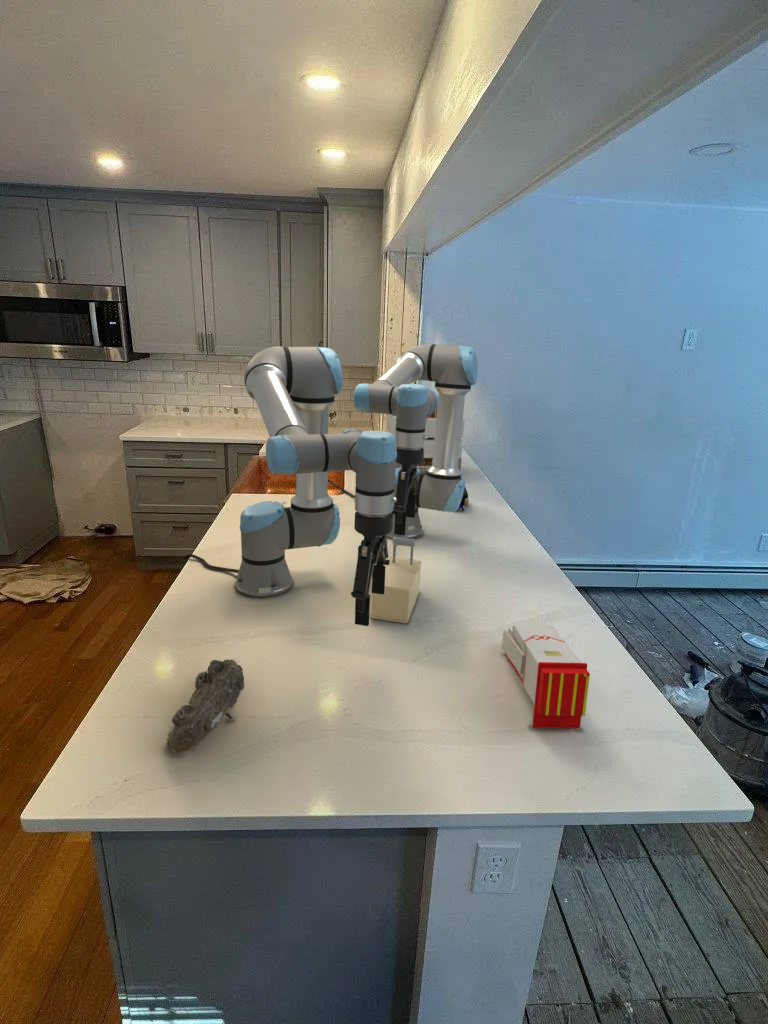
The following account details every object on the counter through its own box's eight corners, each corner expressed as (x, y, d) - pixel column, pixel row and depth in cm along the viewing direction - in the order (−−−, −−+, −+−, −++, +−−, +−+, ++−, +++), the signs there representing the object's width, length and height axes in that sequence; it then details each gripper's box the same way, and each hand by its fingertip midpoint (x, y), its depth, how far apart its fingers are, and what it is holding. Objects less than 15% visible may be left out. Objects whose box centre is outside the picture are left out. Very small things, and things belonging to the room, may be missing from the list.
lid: (388, 558, 159) (389, 531, 156) (421, 563, 157) (423, 536, 154) (372, 587, 142) (373, 557, 139) (409, 592, 140) (411, 562, 137)
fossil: (192, 660, 117) (244, 628, 112) (224, 691, 120) (276, 661, 115) (142, 746, 98) (202, 712, 93) (182, 779, 101) (242, 748, 96)
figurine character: (468, 516, 224) (463, 500, 237) (471, 498, 221) (465, 483, 234) (452, 515, 224) (447, 499, 237) (453, 498, 220) (449, 482, 234)
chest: (386, 588, 161) (387, 559, 158) (418, 592, 159) (420, 564, 156) (371, 618, 145) (372, 587, 142) (407, 623, 143) (409, 592, 140)
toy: (548, 608, 134) (599, 669, 104) (543, 661, 136) (591, 735, 107) (497, 607, 133) (533, 668, 104) (493, 660, 136) (527, 734, 107)
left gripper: (377, 537, 98) (373, 642, 105) (404, 495, 121) (399, 584, 128) (336, 531, 100) (334, 636, 107) (370, 491, 123) (367, 579, 130)
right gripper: (415, 460, 131) (410, 544, 138) (431, 438, 154) (426, 511, 161) (383, 457, 133) (380, 540, 140) (404, 435, 156) (400, 508, 163)
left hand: (370, 608), depth 118 cm, fingers open, 13 cm apart
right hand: (404, 525), depth 151 cm, fingers open, 13 cm apart
